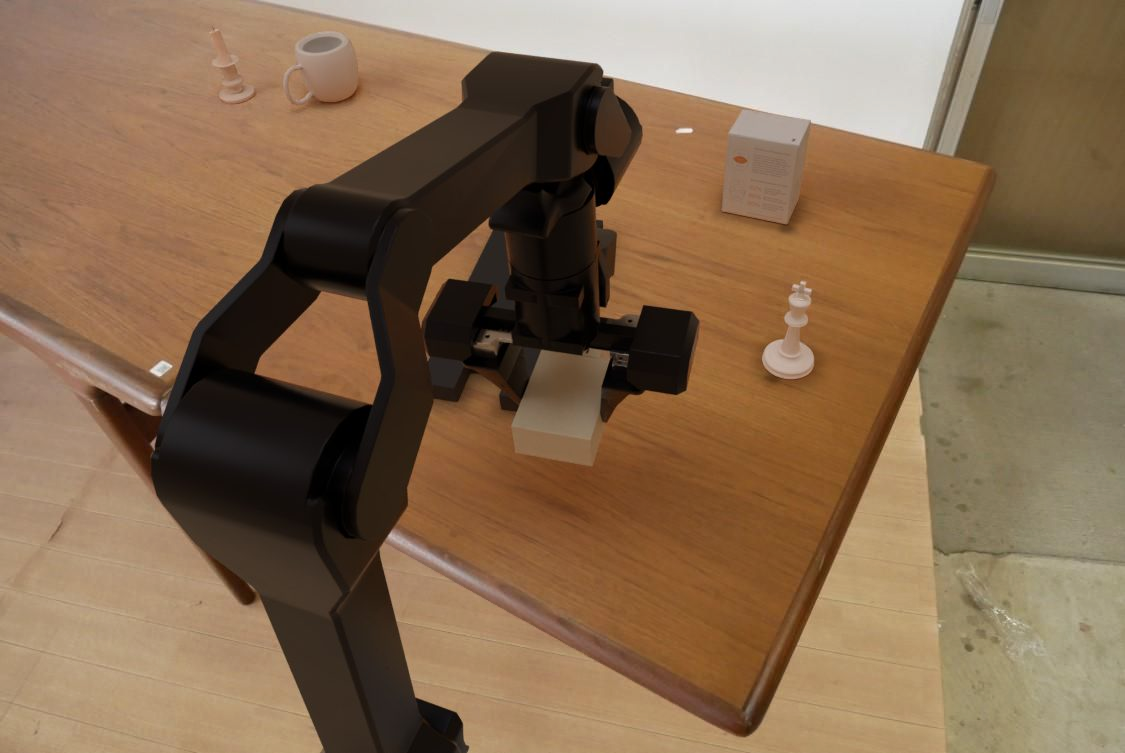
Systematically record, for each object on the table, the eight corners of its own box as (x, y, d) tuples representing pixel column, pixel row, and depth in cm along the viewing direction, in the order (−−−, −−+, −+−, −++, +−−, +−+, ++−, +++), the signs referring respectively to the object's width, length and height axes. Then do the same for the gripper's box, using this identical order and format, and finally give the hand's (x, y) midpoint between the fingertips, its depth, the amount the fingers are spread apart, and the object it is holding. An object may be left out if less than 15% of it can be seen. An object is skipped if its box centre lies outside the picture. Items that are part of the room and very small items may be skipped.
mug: (341, 73, 128) (327, 23, 122) (376, 90, 124) (363, 38, 118) (275, 106, 122) (257, 54, 117) (309, 125, 118) (293, 72, 112)
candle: (213, 97, 125) (186, 29, 118) (242, 83, 128) (217, 15, 120) (233, 107, 123) (207, 38, 115) (262, 92, 125) (239, 23, 118)
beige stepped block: (592, 467, 62) (590, 440, 60) (515, 453, 63) (510, 426, 61) (625, 357, 69) (625, 329, 67) (555, 347, 71) (553, 319, 68)
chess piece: (772, 337, 84) (786, 259, 77) (820, 353, 82) (839, 274, 75) (754, 369, 81) (766, 291, 74) (803, 386, 80) (821, 307, 72)
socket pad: (539, 415, 79) (537, 401, 78) (420, 396, 82) (416, 382, 80) (603, 234, 97) (603, 220, 96) (504, 223, 100) (502, 209, 98)
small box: (799, 199, 100) (813, 119, 92) (787, 226, 96) (801, 145, 89) (733, 186, 102) (742, 107, 94) (719, 212, 99) (727, 132, 91)
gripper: (718, 193, 56) (704, 355, 68) (457, 166, 60) (485, 323, 72) (691, 303, 49) (680, 464, 60) (397, 263, 53) (439, 421, 65)
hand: (566, 411), depth 65 cm, fingers closed on beige stepped block, 6 cm apart
